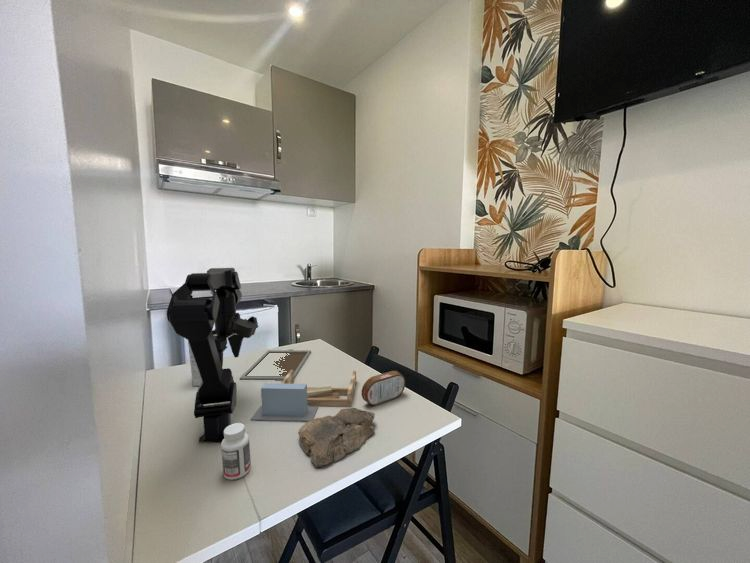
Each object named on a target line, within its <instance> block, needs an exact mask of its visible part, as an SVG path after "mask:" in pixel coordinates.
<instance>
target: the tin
mask: <svg viewBox="0 0 750 563" xmlns="http://www.w3.org/2000/svg"><path fill="white" fill-rule="evenodd" d="M405 387H406V378H405V377H404V376H403V374H401V372H399V371H398V370H391V371H388V372H384V373H381V374H376V375H374V376H371V377H369V378H368V379H366V381H365V382H364V383H363V385H362V388H361V398H362V400H363V401H365V403H367V404H368V405H369V406H370V405H371V406H378V405H380V404H383V403H386V402H390V401H392V400H394V399H397V398H399V397H400V396H401V395H402V393H403V392H404V391H405Z"/></svg>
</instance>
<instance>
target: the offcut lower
mask: <svg viewBox="0 0 750 563" xmlns="http://www.w3.org/2000/svg"><path fill="white" fill-rule="evenodd" d="M339 397H340V395H339V393H332V395H330V396H322V397H315V398H339Z"/></svg>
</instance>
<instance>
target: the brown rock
mask: <svg viewBox="0 0 750 563" xmlns="http://www.w3.org/2000/svg"><path fill="white" fill-rule="evenodd" d="M375 417H376V414H375V413H374V412H373V411H366V410H362V409H359V408H356V407H350V408H348V407H346V408H342V409H340V410H339V412H338V411H337V413H336V414H335V415H325V416H322V417H316V418H313V419H312V420H310V421H308V422H304V424H303V425H302V426H301V427H299V430H298V431H297V432H298V433H297V434H298V436H299V437H298V438H299V439H298V440H299V441H298V442H299V443H298V444H299V445H300V447H301V449H302V450H303V452H304V454H307V455H306V456H308V455H309V456H310V458H309V459H310V460H309V461H310V462H311V463H312V464H313V465H314V466H315V467H316V468H321V466H322V467H323V466H326V465H329V464H331V463H336V462H338V461H340V460H341V459H343V458H345V457H346V455H347V454H350V453H352V452H355V451H357V450H359V449H361V448H362V447H363V446H364V445H365V441H366V440H368V439H369V438H370V437H371V436H372V435H373V434H374V432H375V425H373V423H374V419H375ZM354 450H355V451H354ZM339 459H340V460H339ZM328 463H329V464H328Z"/></svg>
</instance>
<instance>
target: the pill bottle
mask: <svg viewBox="0 0 750 563" xmlns="http://www.w3.org/2000/svg"><path fill="white" fill-rule="evenodd" d="M220 443H221V444H220V448H221V449H220V450H221V451H220V452H221V460H222V463H221V464H222V471H223V472H222V474H223V477H224V478H225V479H226V480H231V481H232V480H233V479H234V480H238V479H240V478H243V477H244V476H245V475H247V474H249V473H248V472H249V471H250V469H251V466H252V462H251V460H252V459H251V449H250V436H249V435H248V433H246V428H245V425H244V424H243V423H241V422H236V423H231V425H229V426H227V427H226V428H225V429H224V439H223V441H222V442H220Z"/></svg>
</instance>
